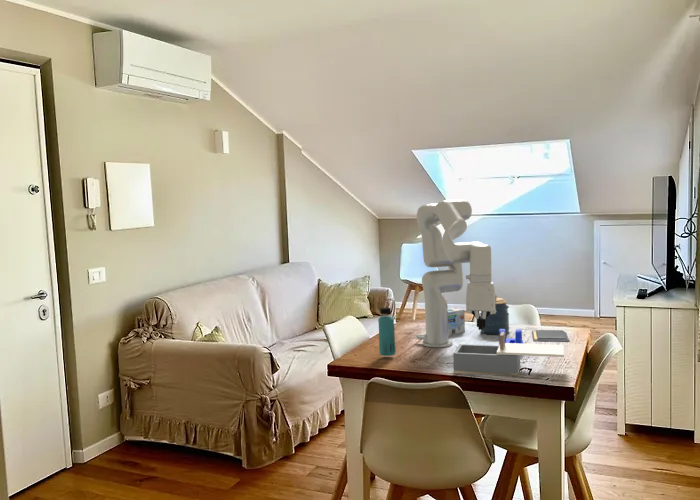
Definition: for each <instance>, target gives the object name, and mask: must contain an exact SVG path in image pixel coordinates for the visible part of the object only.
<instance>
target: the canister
mask: <svg viewBox="0 0 700 500" xmlns="http://www.w3.org/2000/svg"><path fill="white" fill-rule="evenodd" d="M495 300H496V306H495V308H496V313H495V314H490V315H489V316H487V317H486V327H484V329H483V330H480V333H481V334H485V335H492V336H493V335H496V336H499V330H500V329H505V330H506V334H508V333H509V331H510V323H509V322H510V321H509V320H510V316H509V315H510V313H509V310H508V309H509V308H510V306H509V305H508V304H507V302H508V301H507V300H505V299H504V298H502V297H498V295H497V294H496V293H495ZM479 313H480V316H481V318H482V316H483V311H480V312H479Z"/></svg>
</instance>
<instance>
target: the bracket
mask: <svg viewBox="0 0 700 500" xmlns="http://www.w3.org/2000/svg"><path fill="white" fill-rule="evenodd" d="M522 330H523V329H521V328H520V329H517V328H516V329H515V335H514V337H515V338H514V337H513V338H512V337H511V338H509V337H507V333H506V330H505V329H500V330H499V335H498V346H499V345H500V334H501V332H505V343H521V344H524V340H523V332H522Z"/></svg>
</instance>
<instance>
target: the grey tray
mask: <svg viewBox="0 0 700 500" xmlns="http://www.w3.org/2000/svg"><path fill="white" fill-rule="evenodd" d="M498 348H499V345H491V344H468V343H467V344H466V343H465V344H462V343H461V344H460V343H459V344H458V346H457V347H456V349H454V351H453V352H452V362H453V363H452V364H453V365H452V366H453V373H454V374H455V373H456V374H470V373H471V374H472V375H473V374H474V375H491V376H492V375H493V376H509V377H510V376H512V377H519V372H520V368H521V355H501V354H497V350H498Z"/></svg>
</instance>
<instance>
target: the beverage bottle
mask: <svg viewBox="0 0 700 500" xmlns="http://www.w3.org/2000/svg"><path fill="white" fill-rule="evenodd" d="M379 313H380V315H381V314H382V315H381V316H380V317H379V318H378V319H377V321H378V342H379V343H378V344H379V345H378V348H379V355H380V356H383V357H390V356H395V355H396V337H395V335H396V334H395V318H394V317H393V316H392V315H389V314H391V313H392V311H391V307H381V308H380V312H379Z"/></svg>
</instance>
